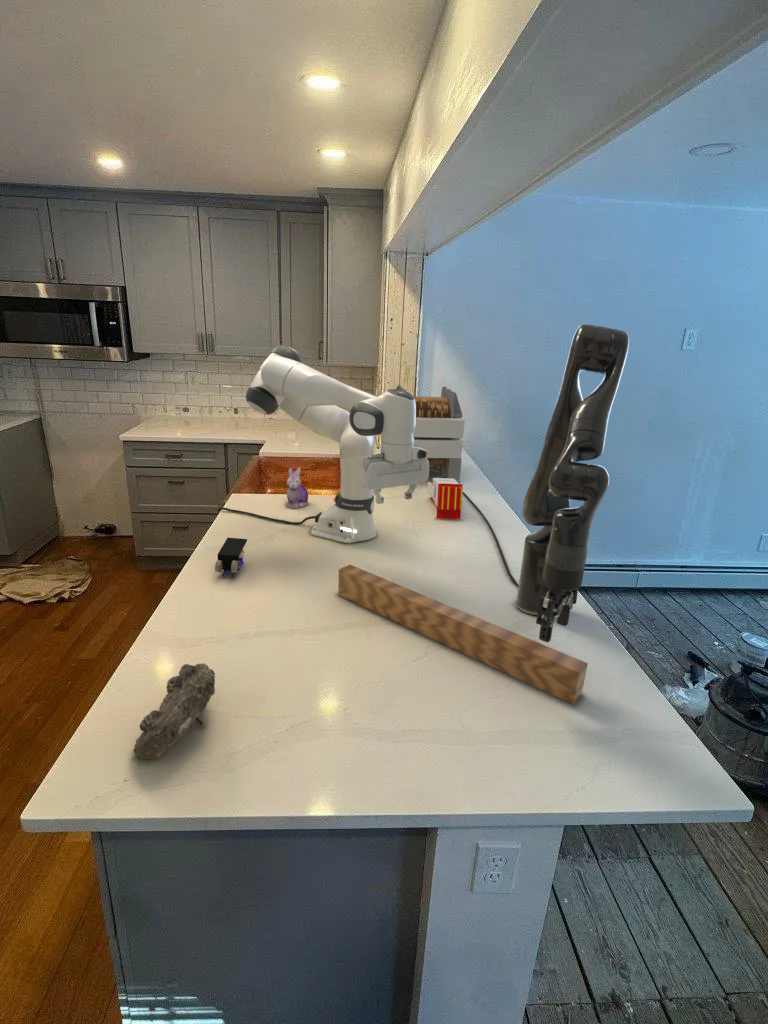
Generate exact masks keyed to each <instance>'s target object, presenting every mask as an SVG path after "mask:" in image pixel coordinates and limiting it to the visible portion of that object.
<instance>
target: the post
mask: <svg viewBox="0 0 768 1024" xmlns="http://www.w3.org/2000/svg"><path fill="white" fill-rule="evenodd" d="M337 587H338V589H337V590H338V591H337V593H338V594H337V595H338V596H340V597H342V598H344V599H346V600H348V601H350V602H353V603H354V604H357V605H360V606H361V607H363V608H365V609H368V610H370V611H372V612H373V613H376V614H378V615H380V616H382V617H385V618H387V619H389V620H391V621H394V622H396V623H398V624H400V625H402V626H404V627H406V628H408V629H411V630H412V631H415V632H416V633H418V634H421V635H423V636H425V637H428V638H430V639H431V640H434V641H436V642H438V643H440V644H442V645H444V646H447V647H449V648H451V649H454V650H455V651H458V652H460V653H462V654H464V655H465V656H469V657H470V658H473V659H474V660H477V661H478V662H481V663H483V664H485V665H487V666H489V667H491V668H494V669H496V670H498V671H500V672H502V673H505V674H507V675H509V676H510V677H513V678H515V679H517V680H519V681H521V682H524V683H526V684H528V685H529V686H532V687H534V688H537V689H539V690H541V691H543V692H545V693H547V694H550V695H551V696H554V697H556V698H558V699H560V700H563V701H564V702H567V703H569V704H570V705H573V706H574V705H575V704H576V702H577V701H578V700H579V699H580V697H581V696H582V695H583V691H584V686H585V680H586V674H587V669H588V662H586V661H583V660H581V659H578V658H576V657H574V656H571V655H570V654H567V653H564V652H562V651H559V650H557V649H554V648H553V647H550V646H547V645H544V644H543V643H540V642H538V641H536V640H533V639H531V638H528V637H525V636H523V635H521V634H519V633H516V632H514V631H511V630H510V629H509V630H508V629H507V628H503V627H502V626H499V625H497V624H494V623H492V622H490V621H487V620H485V619H482V618H481V617H478V616H476V615H473V614H470V613H468V612H466V611H463V610H461V609H458V608H457V607H453V606H452V605H449V604H446V603H444V602H442V601H440V600H437V599H434V598H432V597H429V596H427V595H425V594H423V593H420V592H417V591H415V590H413V589H410V588H408V587H405V586H403V585H400V584H398V583H396V582H395V581H391V580H389V579H387V578H384V577H382V576H379V575H376V574H374V573H372V572H369V571H367V570H364V569H362V568H360V567H357V566H355V565H353V564H347V565H344V566H343V567H340V568H338V586H337Z"/></svg>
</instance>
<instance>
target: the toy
mask: <svg viewBox="0 0 768 1024" xmlns="http://www.w3.org/2000/svg"><path fill="white" fill-rule="evenodd" d="M463 485H464V484H463V483H460V482H459V483H458V482H457V481H456V480H455V479H454V478H444V477H432V482H431V481H427V493H428V494H429V498H430V500H431V501H432V502H433V504H435V506H436V519H437V520H461V518H462V516H461V515H462V507H463V493H462V492H464V491H463V490H464V487H463Z"/></svg>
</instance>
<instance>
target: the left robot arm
mask: <svg viewBox="0 0 768 1024" xmlns="http://www.w3.org/2000/svg"><path fill="white" fill-rule="evenodd" d="M260 365H261V366H259V368H258V370H257V372H256V374H255V376H254V378H253V379H252V382H251V384H250V386H249V387H248V388H247V390H246V392H245V400H246V402H247V404H248V405H249V406H250V407H251V408H252V409H253V410H254V411H256V412H257V413H260V414H263V415H267V416H269V415H273V414H274V413H275V412H276V411H277V410H278V409H279V408H280V409H281V410H282V411H283V412H285V413H286V414H287V415H288V416H290V417H291V418H292V419H294V420H295V421H296V422H298V423H299V424H301V425H303V426H305V428H308V429H309V430H311V431H312V432H314V433H315V434H317V435H319V436H322V437H324V438H327V439H330V440H332V441H334V442H335V443H339V466H340V468H339V469H340V490H339V491H338V492H337V494H336V495H335V496H334V497H333V502H334V504H333V505H331V506H329V507H328V508H326V509H325V510H323V512H322V511H320V512H319V513H317V514H316V515H312V516H307V517H305V518H304V519H302V521H298V522H297V521H295V522H294V521H289V520H285V519H278V518H273V517H270V516H269V517H268V516H264V515H261V514H256V513H252V512H249V511H243V510H238V509H232V508H228V507H218V508H217V510H216V512H220V511H227V512H231V513H238V514H244V515H247V516H252V517H256V518H258V519H259V518H260V519H263V520H267V521H273V522H277V523H283V524H288V525H294V526H295V525H299V526H300V525H303V524H304V523H305V522H307V521H308V520H312V519H314V523H315V524H314V525H313V526H312V528H311V530H310V533H311V536H315V537H319V538H323V539H326V540H330V541H336V542H339V543H343V544H352V543H357V542H365V541H368V540H372V539H373V538H375V537H376V535H377V532H376V528H375V523H374V513H373V512H374V509H375V503H376V504H378V505H382V504H384V503H385V497H384V496H382V495H381V492H382V489H389V488H396V487H402V486H408V489H407V491H405V492H404V499H405V500H412V499H413V494H414V493H415V490H416V489H417V484H423V483H424V484H425V483H426V482H428V480H429V477H430V466H429V461H428V459H426V458H428V457H429V451H427V450H425V449H423V448H420V447H418V446H415V445H414V436H413V432H414V429H415V424H416V403H415V399H414V397H413V396H414V395H413V394H411V393H410V392H409V391H407V390H406V391H403V390H397V389H396V388H391V389H387V390H386V391H385V392H384V393H382V394H379V395H378V394H373V393H371V392H368V391H365V390H363V389H361V388H358V387H355V386H353V385H350V384H347V383H344V382H342V381H339V380H338V379H336V378H333V377H331V376H329V375H327V374H324V373H323V372H321V371H319V370H317V369H315V368H313V367H310V366H309V365H306V364H305V363H304V361H303V357H302V356H301V355H300V354H299V353H298V351H297V350H295V349H293V348H292V347H291V346H288V345H285V344H278V345H276V346H275V347H274V348H273V349H272V350H271V351H270V354H269V355H268V356H267V357H266V359H265V360H264V361H263V363H261V364H260ZM341 407H342V408H341ZM344 408H347V409H349V410H350V411H348V410H346V409H344ZM376 436H379V437H380V453H376V454H374V453H375V452H374V451H375V450H374V449H375V444H376V443H375V442H376Z"/></svg>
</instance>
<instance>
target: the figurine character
mask: <svg viewBox="0 0 768 1024" xmlns="http://www.w3.org/2000/svg"><path fill="white" fill-rule="evenodd" d="M247 542H248V538H240V537H226V539H225V541H224V543H223V544H222V546H221V547H220V549H219V551H218V552H217V560H216V562H215V564H214V572H215V573H221V577H222V578H224V577H225V576H226V574H227V573H230V574H231V573H232V574H231V578H234V577H235V575H236V573H237V572H239V571H240V567H242V566H243V565H244V564H245V562H244V558H245V551H244V547H245V546H246V544H247Z"/></svg>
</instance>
